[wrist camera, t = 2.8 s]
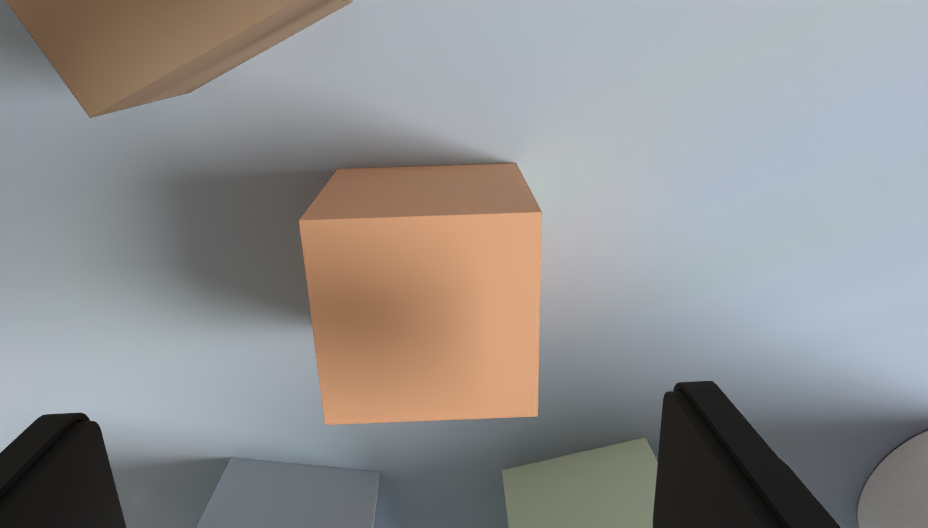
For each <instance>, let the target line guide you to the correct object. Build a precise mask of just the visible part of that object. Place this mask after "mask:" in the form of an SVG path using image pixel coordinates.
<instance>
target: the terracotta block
mask: <svg viewBox="0 0 928 528" xmlns="http://www.w3.org/2000/svg"><path fill="white" fill-rule="evenodd" d="M299 226H300V234H301V242H302V249H303V257H304V265H305V273H306V281H307V288H308V296H309V304H310V312H311V320H312V327H313V335H314V343H315V351H316V358H317V366H318V374H319V382H320V390H321V397H322V405H323V413H324V421H325V425H335V424H360V423H385V422H410V421H435V420H460V419H486V418H511V417H536V416H538V382H539V331H540V280H541V229H542V212H541V210H540V208H539V206H538V204H537V202H536V200H535V198H534V196H533V194H532V192H531V191H530V189H529V187H528V185H527V183H526V181H525V179H524V177H523V175H522V173H521V171H520V170H519V168H518V166H517V164H516V163H503V164H472V165H441V166H410V167H379V168H348V169H337V170H336V172H335V173H334V174H333V176H332V177H331V178H330V180H329V181H328V182H327V184H326V185H325V186H324V188H323V189H322V190H321V192H320V193H319V194H318V196H317V197H316V198H315V200H314V201H313V202H312V204H311V205H310V206H309V207H308V209H307V210H306V211H305V213H304V214H303V215H302V217H301V218H300V219H299Z"/></svg>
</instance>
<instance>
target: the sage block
mask: <svg viewBox="0 0 928 528" xmlns="http://www.w3.org/2000/svg"><path fill="white" fill-rule="evenodd" d="M657 465H658V462H657V460H656V458H655V456H654V454H653V451H652V449H651V447H650V445H649V443H648V441H647V439H646V437H645V438H640V439H636V440H631V441H627V442H623V443H618V444H614V445H609V446H605V447H601V448H596V449H592V450H588V451H583V452H579V453H574V454H570V455H566V456H561V457H557V458H552V459H548V460H544V461H539V462H535V463H531V464H526V465H522V466H517V467H513V468H509V469H504V470H502V477H503V486H504V494H505V502H506V510H507V518H508V526H509V528H653V510H654V499H655V488H656V476H657Z"/></svg>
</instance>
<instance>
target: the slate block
mask: <svg viewBox="0 0 928 528" xmlns="http://www.w3.org/2000/svg"><path fill="white" fill-rule="evenodd" d="M379 480H380V472H372V471H362V470H352V469H342V468H332V467H322V466H312V465H302V464H292V463H282V462H272V461H262V460H252V459H242V458H232V457H231V458H230V460H229V462H228V464H227V466H226V468H225V470H224V472H223V474H222V476H221V478H220V480H219V482H218V484H217V486H216V488H215V490H214V492H213V494H212V496H211V498H210V500H209V502H208V504H207V506H206V508H205V510H204V512H203V514H202V516H201V518H200V520H199V522H198V524H197V526H196V528H374V520H375V512H376V504H377V496H378V488H379Z"/></svg>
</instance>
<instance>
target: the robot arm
mask: <svg viewBox="0 0 928 528" xmlns="http://www.w3.org/2000/svg"><path fill="white" fill-rule="evenodd" d="M0 528H126V525H125V521H124V517H123V513H122V510H121V506H120V502H119V498H118V494H117V490H116V486H115V483H114V479H113V475H112V471H111V467H110V463H109V460H108V456H107V452H106V448H105V444H104V440H103V436H102V433H101V429H100V427H99V425H98V424H97V422H94V421H90V420H89V418H88V417H87V416H86V414H83V413H65V414H47V415H42V416H41V417H39V418H38V419H36V420H35V421H34V422H33V423H32V424H31V425H30V426H29V427H28V428H27V429H26V430H25V431H24V432H22V433H21V434H20V435H19V436H18V437H17V438H16V439H15V440H14V441H13V442H12V443H11V444H10V445H8V446H7V447H6V448H5V449H4V450H3V451H2V452H1V453H0ZM653 528H841V527H840V526H839V525H838V524H837V523H836V522H835V520H834V519H833V518H832V517H831V516H830V515H829V513H828V512H827V511H826V510H825V509H824V507H823V506H822V505H821V504H820V503H819V502H818V500H817V499H816V498H815V497H814V496H813V495H812V493H811V492H810V491H809V490H808V489H807V488H806V486H805V485H804V484H803V483H802V482H801V481H800V479H799V478H798V477H797V476H796V475H795V474H794V472H793V471H792V470H791V469H790V468H789V467H788V466H787V465H786V464H785V463H784V462H783V461H782V460H780V459H779V458H778V457H777V455H776V454H775V453H774V452H773V451H772V450H771V448H770V447H769V446H768V445H767V444H766V442H765V441H764V440H763V439H762V438H761V437H760V435H759V434H758V433H757V432H756V431H755V429H754V428H753V427H752V426H751V425H750V424H749V422H748V421H747V420H746V419H745V418H744V417H743V415H742V414H741V413H740V412H739V411H738V409H737V408H736V407H735V406H734V405H733V404H732V402H731V401H730V400H729V399H728V398H727V397H726V395H725V394H724V393H723V392H722V391H721V389H720V388H719V387H718V386H717V385H716V384H715V383H714V382H713V381H699V382H679V383H677V384H676V385H675V387H674V390H673V392H666V393H665V395H664V399H663V409H662V420H661V431H660V443H659V454H658V465H657V476H656V488H655V499H654V510H653Z"/></svg>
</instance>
